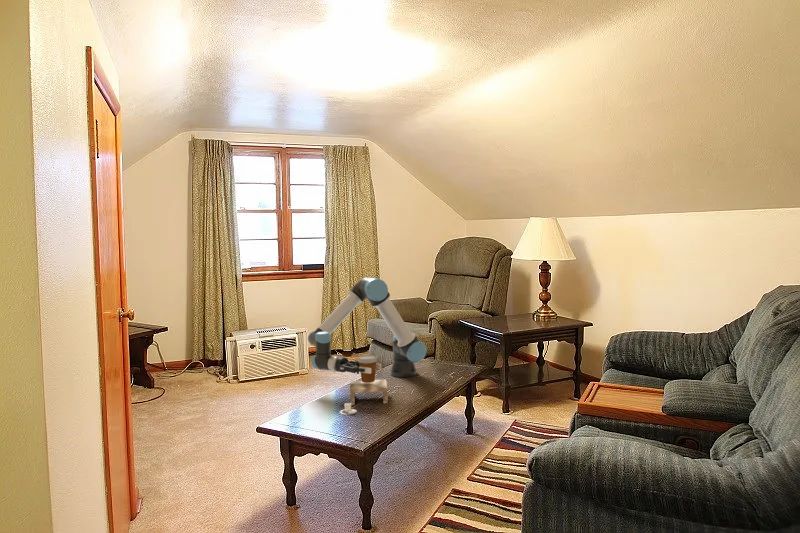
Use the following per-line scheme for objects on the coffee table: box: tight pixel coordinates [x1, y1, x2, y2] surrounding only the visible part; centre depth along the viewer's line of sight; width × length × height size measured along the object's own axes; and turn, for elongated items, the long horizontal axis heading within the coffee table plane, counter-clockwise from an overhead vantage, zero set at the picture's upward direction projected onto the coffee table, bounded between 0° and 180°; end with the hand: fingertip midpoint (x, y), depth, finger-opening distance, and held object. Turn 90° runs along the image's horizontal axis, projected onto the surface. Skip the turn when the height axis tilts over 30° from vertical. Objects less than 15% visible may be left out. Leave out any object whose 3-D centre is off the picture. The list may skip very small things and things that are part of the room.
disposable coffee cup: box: [357, 354, 378, 383], centre depth 279 cm, size 10×10×12 cm
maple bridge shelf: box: [349, 378, 389, 406], centre depth 280 cm, size 18×16×8 cm
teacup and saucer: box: [339, 402, 358, 415], centre depth 261 cm, size 9×8×4 cm
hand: (375, 368), depth 276 cm, fingers closed on disposable coffee cup, 8 cm apart
